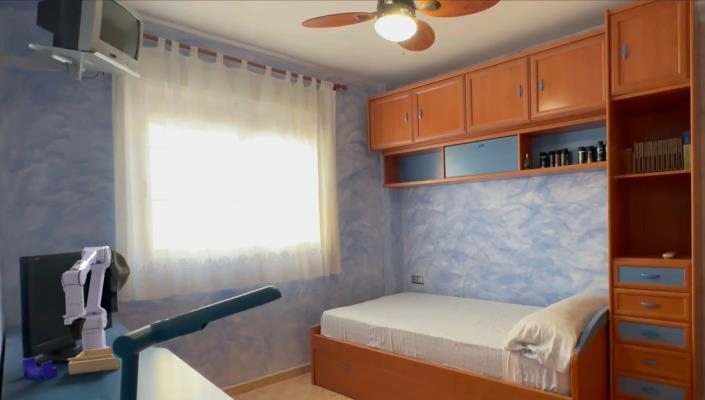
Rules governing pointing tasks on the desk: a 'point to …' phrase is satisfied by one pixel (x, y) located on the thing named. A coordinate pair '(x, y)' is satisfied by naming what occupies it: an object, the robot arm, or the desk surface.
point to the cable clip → (42, 374)
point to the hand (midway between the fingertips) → (76, 338)
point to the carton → (94, 362)
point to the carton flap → (91, 357)
